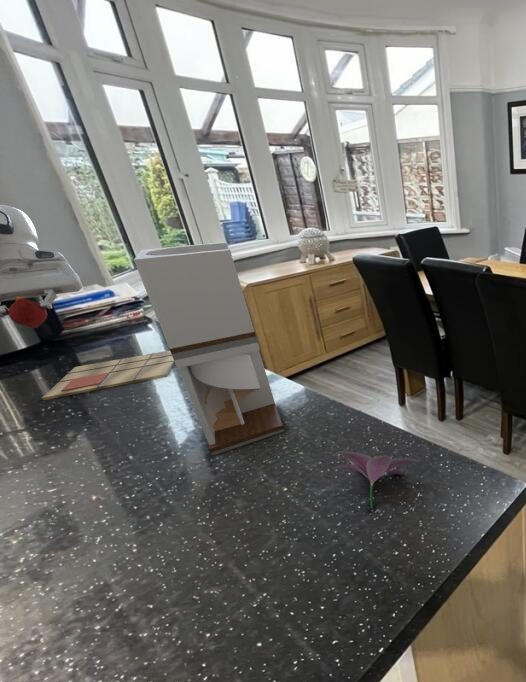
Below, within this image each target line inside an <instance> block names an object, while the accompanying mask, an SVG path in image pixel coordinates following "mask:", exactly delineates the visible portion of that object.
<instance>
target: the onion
mask: <svg viewBox="0 0 526 682" xmlns="http://www.w3.org/2000/svg"><path fill="white" fill-rule="evenodd" d="M15 299H16V300H14V302H13V303H12V304H11V305H10V306H9V308H8V309H9V312H8V313H9V315H8V317H9V319H11V320H12V321H13V322H15V323H16V324H19V325H21V326H25V327H29V328H32V329H36V328H39V326H41V325H42V324H43V323H44V322H45V321H46V319H47V318H48V312H47V309H46V310H44V309H43V308H41V306H40V303H38V302H36V301H33V300H31V299H28V298H21V297H15Z"/></svg>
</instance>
